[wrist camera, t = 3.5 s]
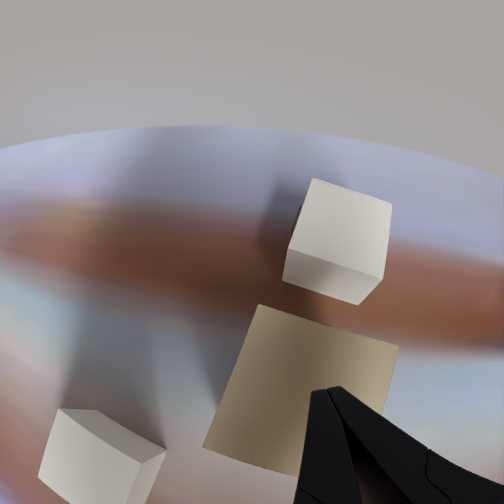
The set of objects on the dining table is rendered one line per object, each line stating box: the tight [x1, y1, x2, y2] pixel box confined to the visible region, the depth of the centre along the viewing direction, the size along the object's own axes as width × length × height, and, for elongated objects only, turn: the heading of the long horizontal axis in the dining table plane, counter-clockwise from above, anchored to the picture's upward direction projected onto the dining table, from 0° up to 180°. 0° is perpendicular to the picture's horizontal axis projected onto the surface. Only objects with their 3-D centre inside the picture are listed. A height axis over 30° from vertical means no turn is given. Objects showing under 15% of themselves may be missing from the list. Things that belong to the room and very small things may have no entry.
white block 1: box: [38, 408, 167, 504], centre depth 13 cm, size 6×6×5 cm
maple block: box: [202, 304, 398, 477], centre depth 13 cm, size 6×6×9 cm
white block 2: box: [282, 178, 392, 305], centre depth 20 cm, size 6×6×5 cm
